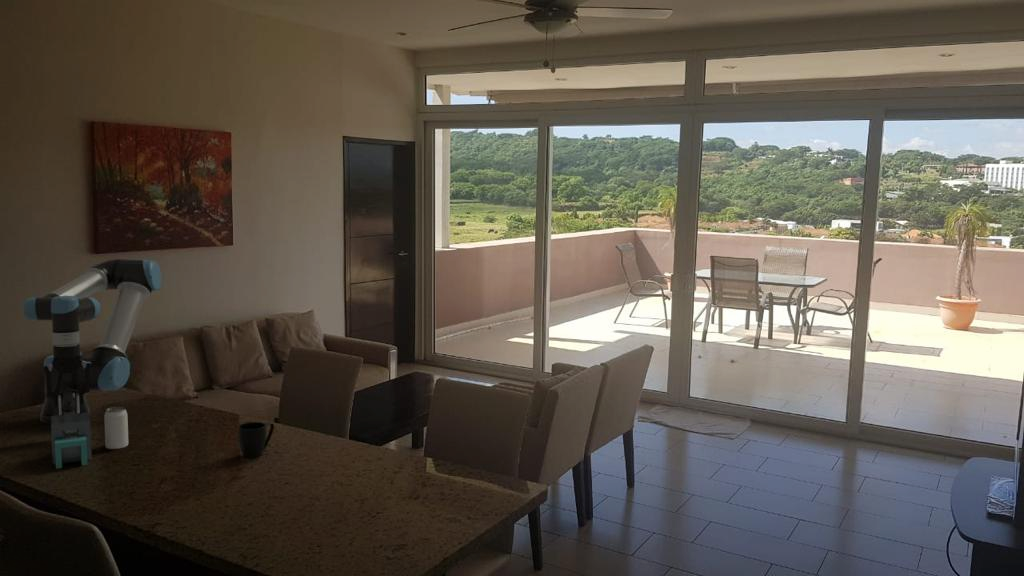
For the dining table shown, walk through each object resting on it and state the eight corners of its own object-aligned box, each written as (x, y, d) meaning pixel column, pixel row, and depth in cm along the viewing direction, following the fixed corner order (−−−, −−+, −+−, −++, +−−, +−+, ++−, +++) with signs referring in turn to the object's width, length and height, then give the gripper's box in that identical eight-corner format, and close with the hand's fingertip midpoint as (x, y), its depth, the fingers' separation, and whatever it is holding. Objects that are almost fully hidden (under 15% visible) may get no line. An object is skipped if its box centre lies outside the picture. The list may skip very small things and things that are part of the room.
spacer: (56, 464, 229) (54, 439, 228) (87, 460, 233) (86, 436, 232) (55, 468, 226) (54, 443, 225) (87, 464, 230) (86, 439, 229)
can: (121, 450, 243) (120, 412, 242) (101, 449, 243) (99, 411, 242) (132, 443, 250) (131, 406, 248) (112, 442, 250) (110, 406, 248)
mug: (282, 452, 245) (281, 422, 244) (249, 462, 235) (248, 431, 234) (265, 446, 250) (265, 417, 248) (232, 456, 240) (232, 426, 239)
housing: (52, 454, 238) (51, 415, 236) (90, 449, 243) (88, 411, 241) (52, 464, 229) (51, 424, 228) (91, 459, 234) (90, 420, 233)
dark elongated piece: (61, 418, 254) (60, 391, 253) (77, 416, 257) (76, 389, 255) (62, 441, 232) (61, 411, 231) (79, 439, 234) (78, 409, 233)
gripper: (34, 348, 244) (37, 421, 246) (97, 344, 252) (100, 415, 255) (34, 344, 250) (38, 415, 253) (96, 340, 259) (99, 409, 262)
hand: (69, 415), depth 254 cm, fingers closed on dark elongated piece, 4 cm apart
